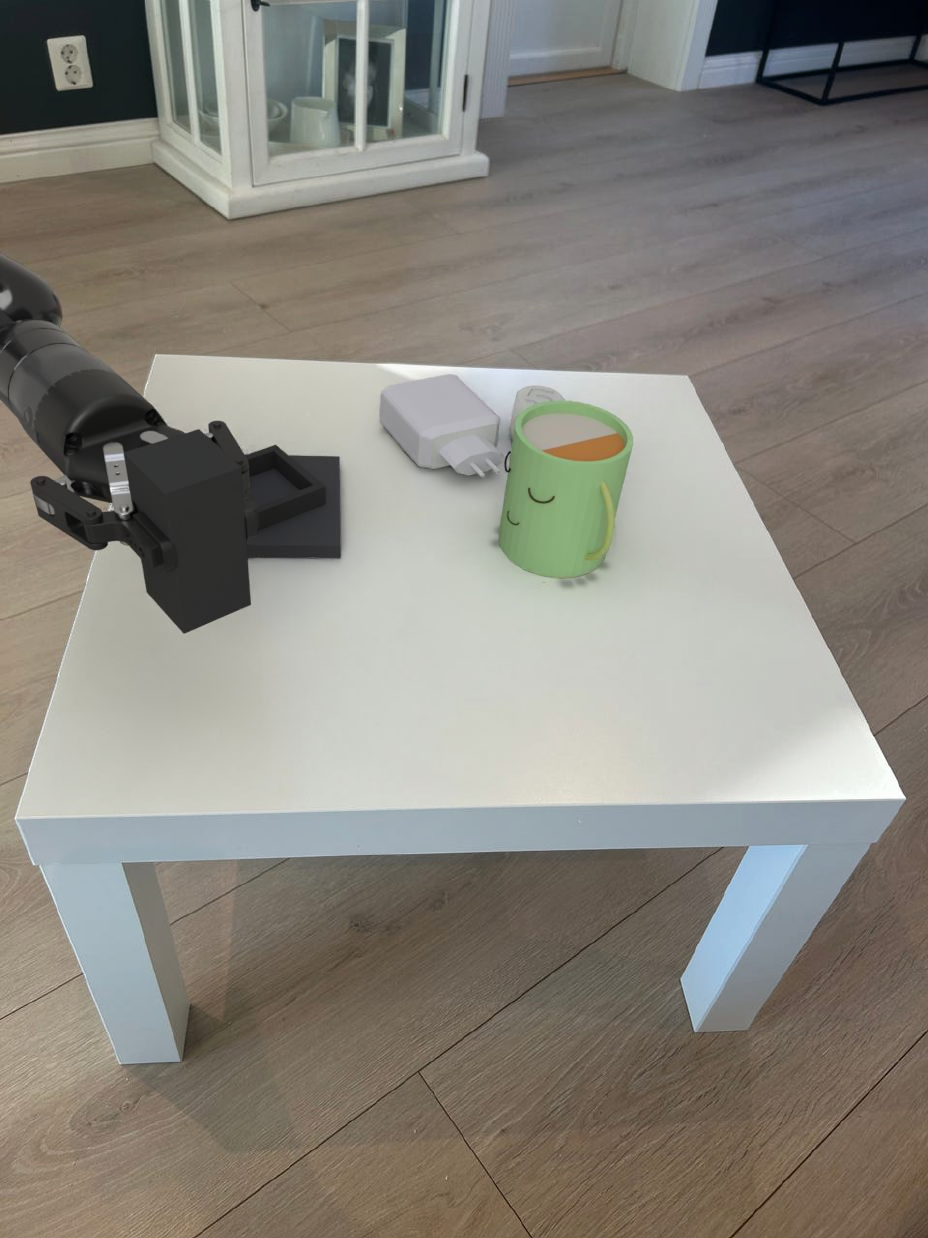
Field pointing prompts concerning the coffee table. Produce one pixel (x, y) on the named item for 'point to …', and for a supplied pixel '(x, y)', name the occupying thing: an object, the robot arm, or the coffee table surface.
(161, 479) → the tall black rectangular block
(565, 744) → the coffee table surface
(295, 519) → the base pad
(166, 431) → the robot arm
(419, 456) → the charger
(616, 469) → the mug
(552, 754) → the coffee table surface
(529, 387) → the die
